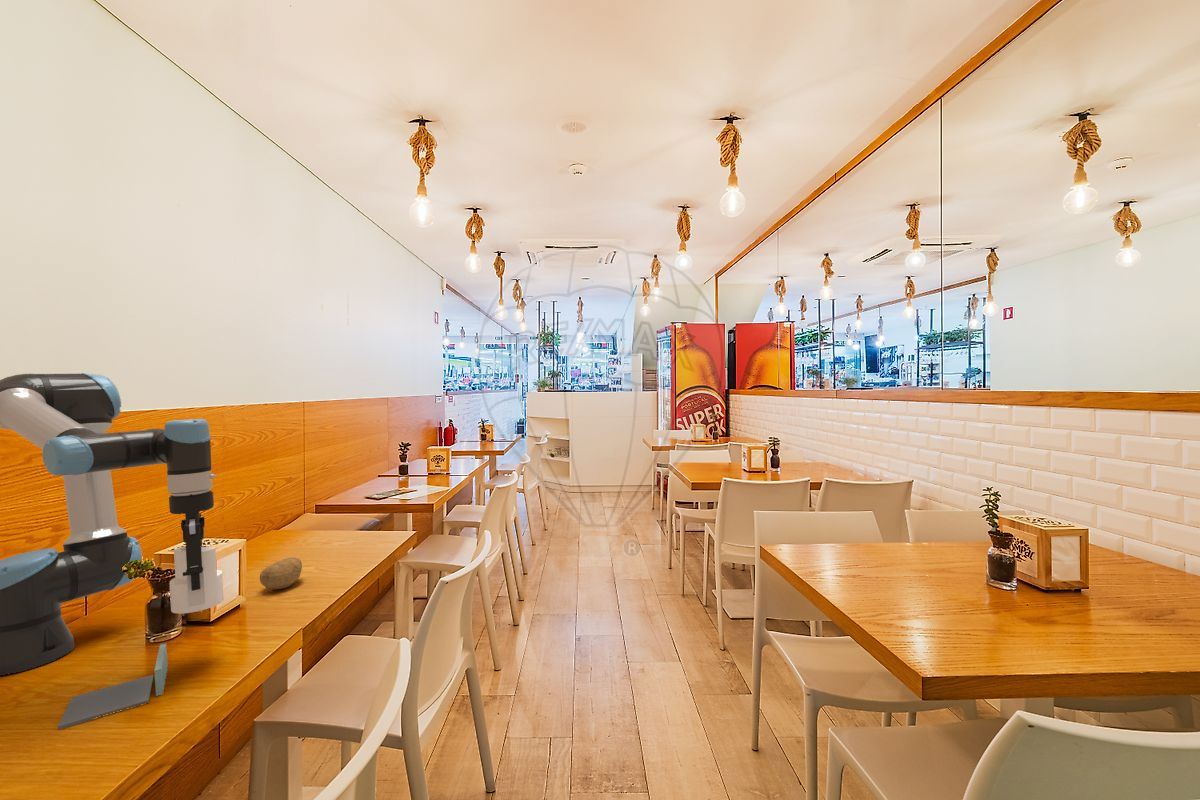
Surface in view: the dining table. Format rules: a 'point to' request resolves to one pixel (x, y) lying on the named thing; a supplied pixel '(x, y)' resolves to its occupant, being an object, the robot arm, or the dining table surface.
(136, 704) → the coaster
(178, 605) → the cylinder with rectangular tab
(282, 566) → the potato
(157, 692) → the panel
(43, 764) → the dining table surface
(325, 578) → the dining table surface
